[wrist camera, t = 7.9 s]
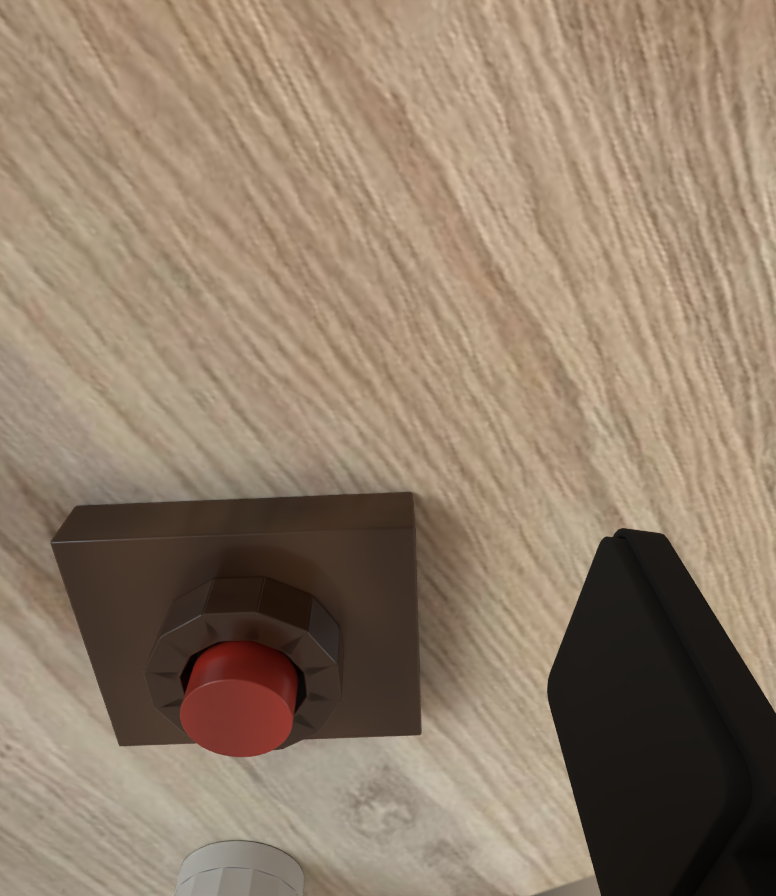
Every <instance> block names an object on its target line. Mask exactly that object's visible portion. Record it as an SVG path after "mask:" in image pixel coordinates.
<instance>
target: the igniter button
mask: <svg viewBox="0 0 776 896" xmlns="http://www.w3.org/2000/svg"><path fill="white" fill-rule="evenodd" d="M297 689H298V676H297V672H296V670H295V667H294V666H293V664H292V663H291V661H290V660H289V659H288V658H287V657H286V656H285V655H284V654H283V653H281V652H280V651H278V650H277V649H274V648H271V647H268V646H266V645H263V644H260V643H257V642H255V641H227V642H223V643H219V644H217V645H214V646H212V647H211V648H209V649H207V650H206V651H205V652H203V653H202V654H201V655H200V657H199V658H198V659H197V661H196V662H195V664H194V667H193V670H192V673H191V676H190V679H189V683H188V686H187V689H186V692H185V695H184V698H183V702H182V705H181V709H180V719H181V723H182V726H183V728H184V730H185V732H186V733H187V734H188V736H189V737H190V738H191V739H192V740H193V741H195V742H196V743H197V744H198V745H200V746H202V747H203V748H205V749H207V750H209V751H212V752H214V753H217V754H221V755H226V756H232V757H251V756H257V755H261V754H265V753H267V752H270V751H272V750H274V749H275V748H277V747H278V746H280V745H281V744H282V743H283V742H284V741H285V740H286V739H287V737H288V736H289V734H290V732H291V730H292V726H293V718H294V711H295V704H296V696H297Z"/></svg>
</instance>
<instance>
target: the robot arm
mask: <svg viewBox="0 0 776 896" xmlns="http://www.w3.org/2000/svg"><path fill="white" fill-rule="evenodd" d="M547 693H548V701H549V705H550V709H551V713H552V716H553V720H554V724H555V728H556V731H557V735H558V739H559V742H560V746H561V750H562V753H563V757H564V761H565V764H566V768H567V772H568V775H569V779H570V783H571V787H572V790H573V794H574V798H575V801H576V805H577V809H578V812H579V816H580V820H581V823H582V827H583V831H584V834H585V838H586V842H587V846H588V849H589V853H590V857H591V860H592V864H593V868H594V871H595V875H596V878H597V882H598V885H599V889H600V893H601V896H776V713H775V711H774V710H773V708H772V706H771V705H770V703H769V701H768V700H767V698H766V697H765V695H764V693H763V692H762V690H761V689H760V687H759V685H758V684H757V682H756V680H755V679H754V677H753V676H752V674H751V672H750V671H749V669H748V668H747V666H746V664H745V663H744V661H743V660H742V658H741V656H740V655H739V653H738V651H737V650H736V648H735V647H734V645H733V643H732V642H731V640H730V639H729V637H728V635H727V634H726V632H725V630H724V629H723V627H722V626H721V624H720V622H719V621H718V619H717V618H716V616H715V614H714V613H713V611H712V609H711V608H710V606H709V605H708V603H707V601H706V600H705V598H704V597H703V595H702V593H701V592H700V590H699V589H698V587H697V585H696V584H695V582H694V580H693V579H692V577H691V576H690V574H689V572H688V571H687V569H686V568H685V566H684V564H683V563H682V561H681V559H680V558H679V556H678V555H677V553H676V551H675V550H674V548H673V547H672V545H671V543H670V542H669V540H668V539H667V538H666V536H665V535H664V534H661V533H655V532H648V531H640V530H633V529H625V528H622V529H619V530H618V531H617V532H616V533H615V534H614V536H613V537H605V538H603V539H602V540H601V542H600V544H599V546H598V549H597V551H596V554H595V557H594V559H593V562H592V565H591V567H590V570H589V572H588V575H587V578H586V580H585V583H584V585H583V588H582V591H581V593H580V596H579V598H578V601H577V604H576V606H575V609H574V612H573V614H572V617H571V619H570V622H569V625H568V627H567V630H566V632H565V635H564V638H563V640H562V643H561V645H560V648H559V651H558V653H557V656H556V658H555V661H554V664H553V666H552V669H551V672H550V675H549V678H548V687H547Z"/></svg>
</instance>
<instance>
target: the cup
mask: <svg viewBox="0 0 776 896" xmlns="http://www.w3.org/2000/svg"><path fill="white" fill-rule="evenodd" d="M303 888H304V875H303V872H302V869H301V868H300V866H299V865H298V864H297V862H296V861H295V860H294V859H292V858H291V857H290V856H289V855H287V854H286V853H284V852H282V851H280V850H278V849H276V848H273V847H271V846H267V845H264V844H260V843H255V842H247V841H227V842H219V843H215V844H211V845H208V846H205V847H202V848H200V849H198V850H196V851H195V852H193V853H192V854H190V855H189V856H188V857H187V858H186V859H185V861H184V862H183V864H182V866H181V869H180V873H179V877H178V881H177V885H176V889H175V893H174V896H303Z"/></svg>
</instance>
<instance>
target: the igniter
mask: <svg viewBox="0 0 776 896" xmlns="http://www.w3.org/2000/svg"><path fill="white" fill-rule="evenodd" d="M51 546H52V549H53V552H54V555H55V558H56V561H57V564H58V567H59V570H60V573H61V576H62V579H63V582H64V585H65V588H66V591H67V594H68V596H69V599H70V602H71V605H72V608H73V611H74V614H75V617H76V620H77V623H78V626H79V629H80V632H81V635H82V638H83V641H84V644H85V647H86V649H87V652H88V655H89V658H90V661H91V664H92V667H93V670H94V673H95V676H96V679H97V682H98V685H99V688H100V691H101V694H102V697H103V699H104V702H105V705H106V708H107V711H108V714H109V717H110V720H111V723H112V726H113V729H114V732H115V735H116V738H117V741H118V744H119V746H142V745H168V744H195V743H196V742H195V741H193V740H192V739H191V738H190V737H189V736H188V734H187V733H186V732H185V730H184V728H183V726H182V723H181V719H180V709H181V705H182V702H183V698H184V695H185V692H186V689H187V686H188V683H189V679H190V676H191V673H192V670H193V667H194V664H195V662H196V661H197V659H198V658H199V657H200V655H201V654H202V653H203V652H205V651H206V650H207V649H209V648H211V647H212V646H214V645H217V644H219V643H223V642H227V641H255V642H257V643H260V644H263V645H266V646H268V647H271V648H274V649H277V650H278V651H280V652H281V653H283V654H284V655H285V656H286V657H287V658H288V659H289V660H290V661H291V663H292V664H293V666H294V667H295V670H296V672H297V676H298V689H297V696H296V704H295V711H294V718H293V726H292V730H291V732H290V734H289V736H288V737H287V739H286V740H285V741H284V742H283V743H282V744H281V745H280V746H278V747H277V748H275V749H274V750H280V749H284V748H286V747H288V746H290V745H293V744H295V743H297V742H299V741H301V740H304V739H330V738H357V737H384V736H411V735H421V733H422V728H421V695H420V661H419V628H418V594H417V561H416V528H415V514H414V501H413V494H412V492H401V493H377V494H353V495H329V496H305V497H281V498H257V499H233V500H209V501H185V502H161V503H137V504H113V505H89V506H76V507H74V509H73V510H72V512H71V513H70V514H69V516H68V517H67V519H66V520H65V522H64V523H63V524H62V526H61V527H60V529H59V530H58V532H57V533H56V534H55V536H54V537H53V539H52V540H51Z"/></svg>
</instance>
